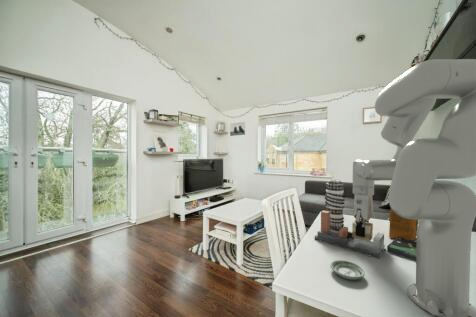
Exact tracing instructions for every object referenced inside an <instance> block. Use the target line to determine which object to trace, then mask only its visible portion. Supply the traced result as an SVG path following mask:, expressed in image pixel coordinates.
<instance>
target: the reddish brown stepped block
mask: <svg viewBox="0 0 476 317" xmlns="http://www.w3.org/2000/svg"><path fill="white" fill-rule="evenodd" d="M348 231H349V227H348V226H344V227H343V228H342V229H340V230H339V231H335V230H331V229H330V212H329V211H327V210H322V211H320V232H324V233H328V234H331V235H335V236H338V237H342V238H347V237H348Z"/></svg>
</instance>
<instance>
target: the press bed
mask: <svg viewBox="0 0 476 317" xmlns="http://www.w3.org/2000/svg"><path fill="white" fill-rule="evenodd" d="M330 229H331V230H335V231H339V230H340V229H337V228H333V227H330ZM314 240H317V241H320V242H323V243H327V244H330V245H334V246H336V247H339V248H343V249H345V250H350V251H353V252H355V253H359V254H362V255H365V256H368V257H369V256H370V257H372V258H376V259H379V258H381V256H382V254H383V253H384V251H385V248H386V247H385V233H384V232H383V233H382V232H377V233H376V234H375V236H373V237H372V240H373V241H371V240H370V242H367V241H364V240H361V239H357V238H354V237H352V231H349V230H348V237H347V238H342V237H338V236H335V235H331V234H328V233H324V232H321V230H318V231H317V234H315V235H314Z"/></svg>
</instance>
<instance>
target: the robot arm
mask: <svg viewBox="0 0 476 317" xmlns="http://www.w3.org/2000/svg"><path fill="white" fill-rule="evenodd" d="M437 99H440V100H441V99H457V100H459V102H457V104H456V105H455V106H453V107H452V108H451V109H450V111H449V112H448V113H447V114H446V116H445V118H444V120H443V121H442V125H441V128H440V132H439V134H438V136H437V137H435V138H434V137H433V138H431V137H428V138H426V137H425V138H424V137H423V138H418V139H414V137H415V136H416V135H417V133H418V132H419V130H420V128H421V126H422V125H423V124H424V122H425V120H426V119H427V117H428V116H429V114H430V112H431V111H432V109H433V108H434V106H435V104H436V101H437ZM374 102H375V103H374V110H375V113H376V114H377V115H379V116H381V117H387V120H386V122H385V124H383V127H382V128H381V132H380V136H381V138H382V139H383V140H385V141H386V142H387V143H389V144H392V145H394V146H396V147H397V148H396V150H395V151H396V152H395V154H394V155H393V157H392V158H391V159H355V160H354V161H353V162H352V186H351V187H352V194H353V195H354V199H353V217H354V219H355V220H354V221H356V233H355V234H356V236H360V237H365V227H364V223H365V222H368V223H370V222H369V221H370V219H372V217H373V216H374V207H373V206H374V205H373V204H374V202H373V196H374V195H375V182H376V181H391V182H390V187H389V191H388V204H389V207H390V209H392V210H393V211H394V213H396V214H397V215H398V216H400V217H402V218H406V219H415V220H418V221H419V220H420V221H419V222H418V228H417V236H416V242H417V244H416V262H415V263H416V264H415V284H411V285H409V287H408V289H407V291H408V292H407V293H408V296H409V298H410V299H411V300H412V301H413V302H414V304H416V305H417V306H418V307H420V308H421V309H423V310H425V311H426V312H428V313H430V315H433V316H435V317H476V307H475V306H474V305H472V303H470V282H471V280H470V279H471V278H470V277H471V250H472V247H471V245H472V230H473V225H474V222H475V220H476V193H475V192H474V191H473V190H472V189H471V188H470V187H469V186H467V185H465V184H463V183H462V182H461V183H460V182H457V181H452V179H453V180H456V179H457V180H459V179H469V178H472V177H473V178H474V177H475V176H476V59H475V58H461V59H459V58H458V59H457V58H456V59H453V58H452V59H451V58H450V59H449V58H447V59H446V58H444V59H443V58H440V59H439V58H436V59H435V58H434V59H428V60H425V61H424V60H423V61H421V62H419V63H416V64H415V65H414V66H412V67H410V68H409V69H408V70H407V71H405V72H404V73H403V74H401V75H400V76H398V77H397V78H396V79H394V80H393V81H392V82H390V83H389V84H388V85H387V86H385V87H384V89H382V90H381V92H379V94H378V96H377V97H376V100H375V101H374ZM413 139H414V140H413ZM450 179H451V180H450ZM361 220H362V222H361Z"/></svg>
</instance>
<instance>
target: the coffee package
mask: <svg viewBox="0 0 476 317" xmlns="http://www.w3.org/2000/svg"><path fill="white" fill-rule="evenodd" d="M388 220H389V227H388V228H389V230H388V237H389V239H393V240H395V239H396V238H397V237H401V238H404V239H405V240H413V241H415V240H416V239H417V229H418V225H419V220H415V219H406V218H402V217H400V216H398V215H397V214H396V213H394V211H393V210H392V209H391V208H390V209H389V219H388Z"/></svg>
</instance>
